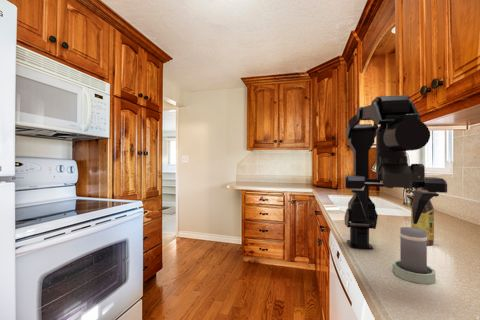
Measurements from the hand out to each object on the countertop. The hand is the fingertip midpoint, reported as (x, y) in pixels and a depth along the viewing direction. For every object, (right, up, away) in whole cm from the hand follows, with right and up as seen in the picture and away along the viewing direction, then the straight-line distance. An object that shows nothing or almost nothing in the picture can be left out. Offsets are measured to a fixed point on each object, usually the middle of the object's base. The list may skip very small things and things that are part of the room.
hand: (390, 221), depth 54 cm
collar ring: (+8, -14, +4) cm, 17 cm away
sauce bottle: (+29, -15, +28) cm, 43 cm away
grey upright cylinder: (+8, -14, +4) cm, 17 cm away
